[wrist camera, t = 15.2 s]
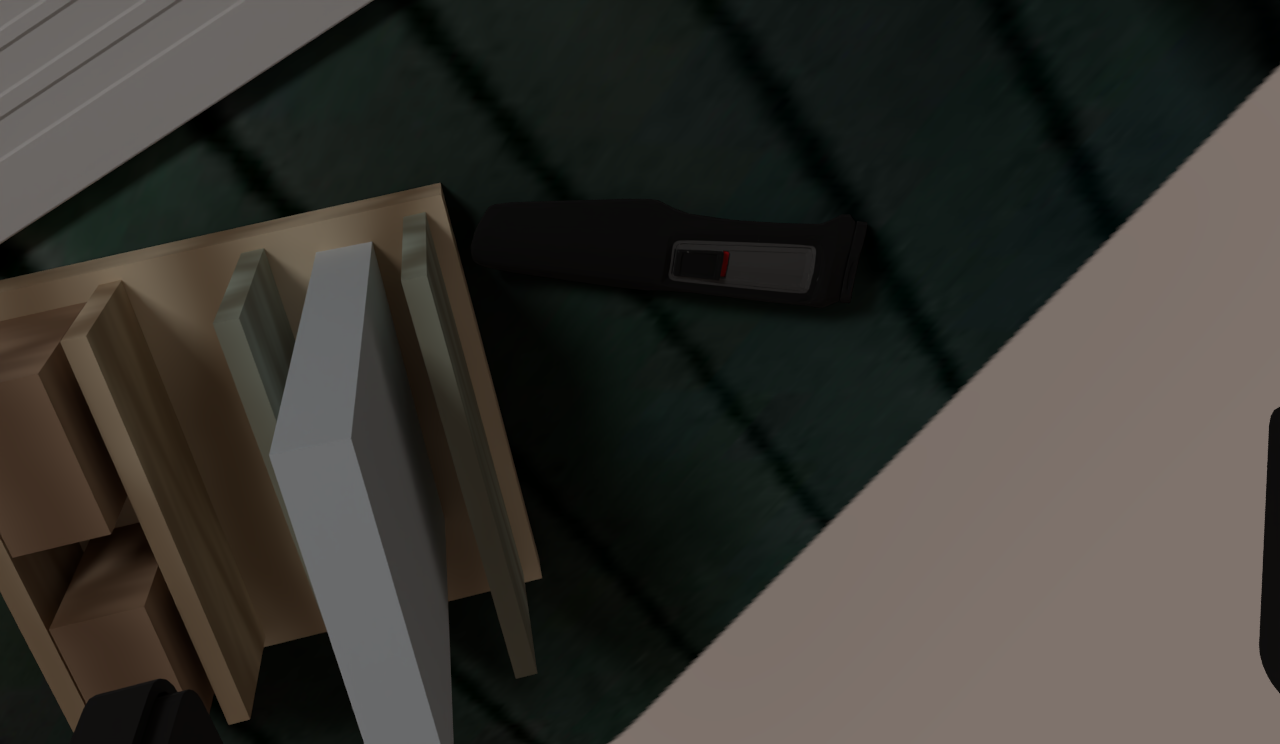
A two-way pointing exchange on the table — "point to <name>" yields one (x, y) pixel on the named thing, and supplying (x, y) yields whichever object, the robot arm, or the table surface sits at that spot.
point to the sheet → (366, 503)
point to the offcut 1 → (49, 442)
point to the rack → (265, 427)
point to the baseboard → (124, 81)
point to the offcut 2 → (125, 621)
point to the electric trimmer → (672, 250)
